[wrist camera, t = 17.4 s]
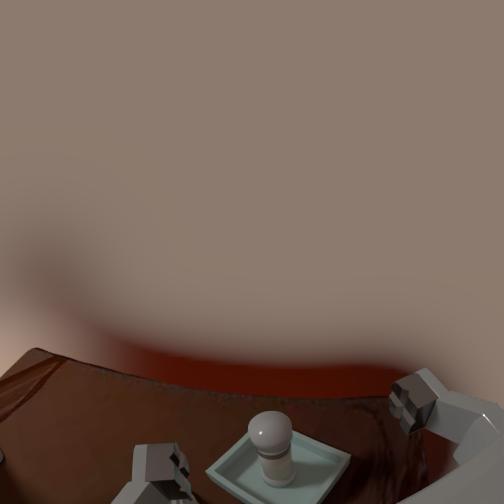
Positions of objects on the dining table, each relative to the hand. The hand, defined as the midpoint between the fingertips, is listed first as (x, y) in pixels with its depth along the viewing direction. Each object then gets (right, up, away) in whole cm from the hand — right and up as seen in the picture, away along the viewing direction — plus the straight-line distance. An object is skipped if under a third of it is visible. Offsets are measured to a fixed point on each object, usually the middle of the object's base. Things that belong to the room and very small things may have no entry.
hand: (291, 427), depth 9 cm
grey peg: (+2, -23, +22) cm, 31 cm away
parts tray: (+2, -23, +22) cm, 32 cm away
